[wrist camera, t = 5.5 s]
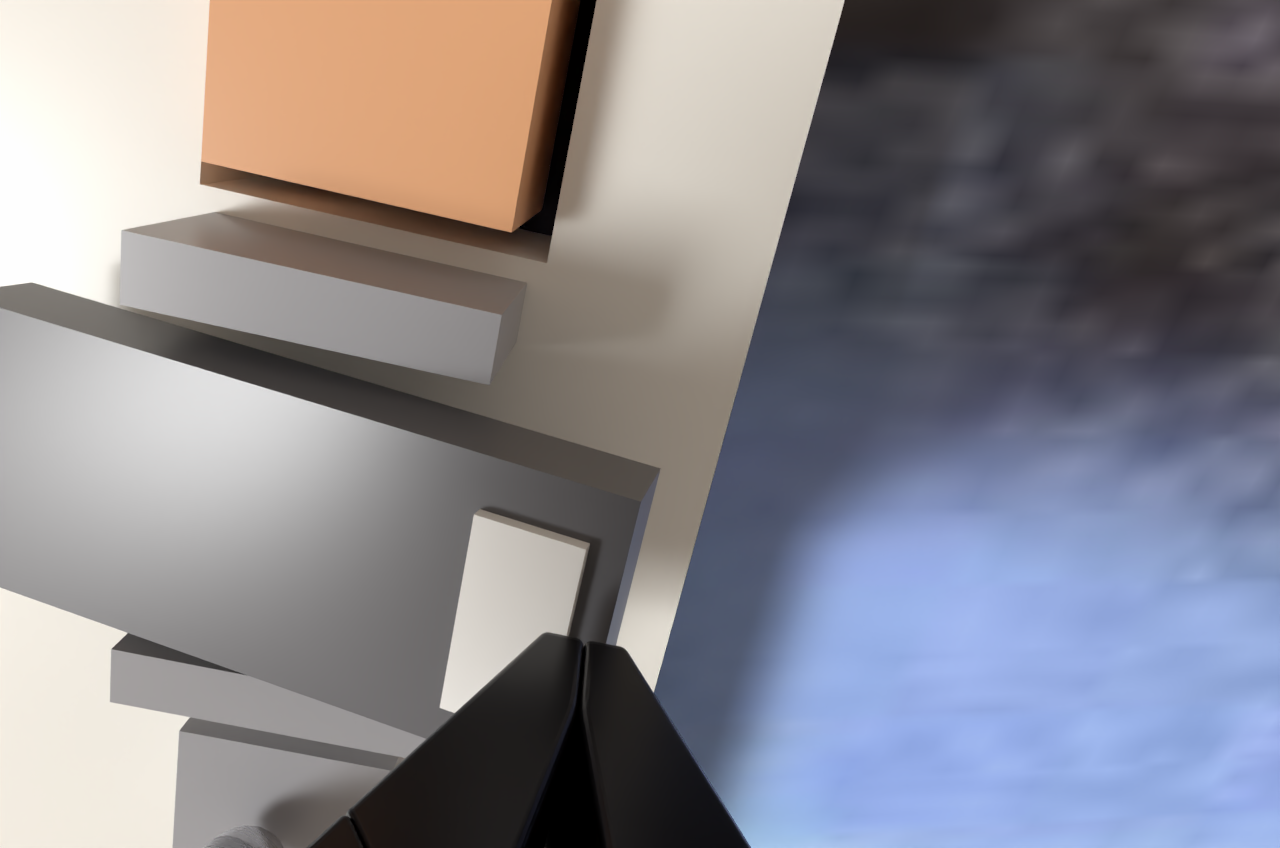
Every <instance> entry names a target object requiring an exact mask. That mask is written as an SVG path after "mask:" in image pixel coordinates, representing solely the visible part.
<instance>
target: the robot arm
mask: <svg viewBox="0 0 1280 848" xmlns="http://www.w3.org/2000/svg"><path fill="white" fill-rule="evenodd" d="M306 848H751V847H750V845H749V844H748V842H747V841H746V839H745V837H744V836H743V834H742V833H741V831H740V829H739V828H738V826H737V825H736V823H735V821H734V820H733V818H732V817H731V815H730V813H729V812H728V810H727V809H726V807H725V805H724V804H723V802H722V801H721V799H720V798H719V796H718V794H717V793H716V791H715V790H714V788H713V786H712V785H711V783H710V782H709V780H708V778H707V777H706V775H705V774H704V772H703V770H702V769H701V767H700V766H699V764H698V763H697V761H696V759H695V758H694V756H693V755H692V753H691V751H690V750H689V748H688V747H687V745H686V743H685V742H684V740H683V739H682V737H681V735H680V734H679V732H678V731H677V729H676V728H675V726H674V724H673V723H672V721H671V720H670V718H669V716H668V715H667V713H666V712H665V710H664V708H663V707H662V705H661V704H660V702H659V700H658V699H657V697H656V696H655V694H654V692H653V691H652V689H651V688H650V686H649V685H648V683H647V681H646V680H645V678H644V677H643V675H642V673H641V672H640V670H639V669H638V667H637V665H636V664H635V662H634V661H633V659H632V657H631V656H630V654H629V653H628V651H627V650H626V649H625V648H623V647H621V646H616V645H610V644H605V643H600V642H595V641H589V642H587V643H586V644H585V645H584V647H583V643H582V641H581V640H580V639H578V638H575V637H570V636H565V635H560V634H555V633H550V632H545V633H542V634H541V635H540V636H539V637H538V638H537V639H535V640H534V641H533V642H532V643H531V644H530V645H529V646H528V647H527V648H526V649H524V650H523V651H522V652H521V653H520V654H519V655H518V656H517V657H516V658H515V659H513V660H512V661H511V662H510V663H509V664H508V665H507V666H506V667H505V668H504V669H502V670H501V671H500V672H499V673H498V674H497V675H496V676H495V677H494V678H493V679H491V680H490V681H489V682H488V683H487V684H486V685H485V686H484V687H483V688H482V689H481V690H479V691H478V692H477V693H476V694H475V695H474V696H473V697H472V698H471V699H470V700H468V701H467V702H466V703H465V704H464V705H463V706H462V707H461V708H460V709H459V710H457V711H456V712H455V713H454V714H453V715H452V716H451V717H450V718H449V719H448V720H446V721H445V722H444V723H443V724H442V725H441V726H440V727H439V728H438V729H437V730H435V731H434V732H433V733H432V734H431V735H430V736H429V737H428V738H427V739H426V740H424V741H423V742H422V743H421V744H420V745H419V746H418V747H417V748H416V749H415V750H414V751H412V752H411V753H410V754H409V755H408V756H407V757H406V758H405V759H404V760H403V761H401V762H400V763H399V764H398V765H397V766H396V767H395V768H394V769H393V770H392V771H390V772H389V773H388V774H387V775H386V776H385V777H384V778H383V779H382V780H381V781H379V782H378V783H377V784H376V785H375V786H374V787H373V788H372V789H371V790H370V791H368V792H367V793H366V794H365V795H364V796H363V797H362V798H361V799H360V800H359V801H357V802H356V803H355V804H354V805H353V806H352V807H351V808H350V809H349V810H348V811H347V813H346V815H343V816H341V817H339V818H338V819H337V820H336V821H335V822H334V823H333V824H332V825H330V826H329V827H328V828H327V829H326V830H325V831H324V832H323V833H322V834H321V835H320V836H319V837H317V838H316V839H315V840H314V841H313V842H312V843H311V844H310V845H309V846H307V847H306Z"/></svg>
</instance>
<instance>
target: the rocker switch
mask: <svg viewBox="0 0 1280 848" xmlns="http://www.w3.org/2000/svg"><path fill="white" fill-rule="evenodd" d="M660 469H661V468H657V467H654V466H651V465H647V464H644V463H641V462H637V461H634V460H630V459H627V458H624V457H620V456H617V455H614V454H610V453H607V452H603V451H600V450H597V449H593V448H590V447H587V446H583V445H580V444H576V443H573V442H570V441H566V440H563V439H560V438H556V437H553V436H549V435H546V434H543V433H539V432H536V431H533V430H529V429H526V428H522V427H519V426H516V425H512V424H509V423H506V422H502V421H499V420H495V419H492V418H489V417H485V416H482V415H478V414H475V413H472V412H468V411H465V410H462V409H458V408H455V407H451V406H448V405H445V404H441V403H438V402H435V401H431V400H428V399H424V398H421V397H418V396H414V395H411V394H408V393H404V392H401V391H397V390H394V389H391V388H387V387H384V386H381V385H377V384H374V383H370V382H367V381H364V380H360V379H357V378H354V377H350V376H347V375H343V374H340V373H337V372H333V371H330V370H327V369H323V368H320V367H316V366H313V365H310V364H306V363H303V362H300V361H296V360H293V359H289V358H286V357H283V356H279V355H276V354H273V353H269V352H266V351H262V350H259V349H256V348H252V347H249V346H246V345H242V344H239V343H235V342H232V341H229V340H225V339H222V338H218V337H215V336H212V335H208V334H205V333H202V332H198V331H195V330H191V329H188V328H185V327H181V326H178V325H175V324H171V323H168V322H164V321H161V320H158V319H154V318H151V317H148V316H144V315H141V314H137V313H134V312H131V311H127V310H124V309H121V308H117V307H114V306H110V305H107V304H104V303H100V302H97V301H94V300H90V299H87V298H83V297H80V296H77V295H73V294H70V293H67V292H63V291H60V290H56V289H53V288H50V287H46V286H43V285H40V284H36V283H33V282H30V283H23V284H16V285H8V286H1V287H0V588H3V589H6V590H9V591H11V592H14V593H17V594H20V595H23V596H25V597H28V598H31V599H34V600H37V601H40V602H42V603H45V604H48V605H51V606H54V607H56V608H59V609H62V610H65V611H68V612H71V613H73V614H76V615H79V616H82V617H85V618H87V619H90V620H93V621H96V622H99V623H101V624H104V625H107V626H110V627H113V628H116V629H118V630H121V631H124V632H127V633H130V634H132V635H135V636H138V637H141V638H144V639H147V640H149V641H152V642H155V643H158V644H161V645H163V646H166V647H169V648H172V649H175V650H178V651H180V652H183V653H186V654H189V655H192V656H194V657H197V658H200V659H203V660H206V661H208V662H211V663H214V664H217V665H220V666H223V667H225V668H228V669H231V670H234V671H237V672H239V673H242V674H245V675H248V676H251V677H254V678H256V679H259V680H262V681H265V682H268V683H270V684H273V685H276V686H279V687H282V688H284V689H287V690H290V691H293V692H296V693H299V694H301V695H304V696H307V697H310V698H313V699H315V700H318V701H321V702H324V703H327V704H330V705H332V706H335V707H338V708H341V709H344V710H346V711H349V712H352V713H355V714H358V715H360V716H363V717H366V718H369V719H372V720H375V721H377V722H380V723H383V724H386V725H389V726H391V727H394V728H397V729H400V730H403V731H406V732H408V733H411V734H414V735H417V736H420V737H422V738H425V739H427V738H428V737H429V736H430V735H431V734H432V733H433V732H434V731H435V730H437V729H438V728H439V727H440V726H441V725H442V724H443V723H444V722H445V721H446V720H448V719H449V718H450V717H451V716H452V715H453V714H454V713H455V712H456V711H457V710H459V709H460V708H461V707H462V706H463V705H464V704H465V703H466V702H467V701H468V700H470V699H471V698H472V697H473V696H474V695H475V694H476V693H477V692H478V691H479V690H481V689H482V688H483V687H484V686H485V685H486V684H487V683H488V682H489V681H490V680H491V679H493V678H494V677H495V676H496V675H497V674H498V673H499V672H500V671H501V670H502V669H504V668H505V667H506V666H507V665H508V664H509V663H510V662H511V661H512V660H513V659H515V658H516V657H517V656H518V655H519V654H520V653H521V652H522V651H523V650H524V649H526V648H527V647H528V646H529V645H530V644H531V643H532V642H533V641H534V640H535V639H537V638H538V637H539V636H540V635H541V634H542V633H545V632H550V633H555V634H560V635H565V636H570V637H575V638H578V639H580V640H581V641H582V643H583V647H584V645H585V644H586V643H587V642H589V641H595V642H600V643H605V644H610V645H616V643H617V639H618V635H619V631H620V627H621V623H622V620H623V616H624V612H625V608H626V604H627V600H628V596H629V592H630V588H631V584H632V580H633V576H634V572H635V568H636V564H637V560H638V556H639V552H640V548H641V544H642V540H643V536H644V532H645V529H646V525H647V521H648V517H649V513H650V509H651V505H652V501H653V497H654V493H655V489H656V485H657V481H658V477H659V473H660Z"/></svg>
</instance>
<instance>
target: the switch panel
mask: <svg viewBox="0 0 1280 848" xmlns="http://www.w3.org/2000/svg"><path fill="white" fill-rule="evenodd" d="M844 1H845V0H597V1H596V6H595V11H594V17H593V22H592V27H591V33H590V38H589V43H588V48H587V54H586V59H585V64H584V70H583V75H582V80H581V86H580V91H579V96H578V101H577V107H576V112H575V117H574V123H573V128H572V133H571V138H570V144H569V149H568V154H567V160H566V165H565V170H564V176H563V181H562V186H561V191H560V197H559V202H558V207H557V213H556V218H555V223H554V228H553V234H552V236H549V235H545V234H541V233H536V232H532V231H528V230H523V229H519V228H517V229H516V230H514V231H513V232H512V233H511V232H507V231H502V230H498V229H494V228H489V227H485V226H481V225H476V224H472V223H467V222H463V221H459V220H454V219H450V218H446V217H441V216H437V215H433V214H428V213H424V212H419V211H415V210H411V209H406V208H402V207H398V206H393V205H389V204H385V203H380V202H376V201H372V200H367V199H363V198H358V197H354V196H350V195H345V194H341V193H337V192H332V191H328V190H324V189H319V188H315V187H311V186H306V185H302V184H297V183H293V182H289V181H284V180H280V179H276V178H271V177H267V176H263V175H258V174H254V173H250V172H245V171H241V170H236V169H232V168H228V167H223V166H219V165H215V164H210V163H206V162H202V161H201V155H202V136H203V118H204V99H205V80H206V62H207V43H208V24H209V5H210V0H0V287H1V286H8V285H16V284H23V283H30V282H33V283H36V284H40V285H43V286H46V287H50V288H53V289H56V290H60V291H63V292H67V293H70V294H73V295H77V296H80V297H83V298H87V299H90V300H94V301H97V302H100V303H104V304H107V305H110V306H114V307H117V308H121V309H124V310H127V311H131V312H134V313H137V314H141V315H144V316H148V317H151V318H154V319H158V320H161V321H164V322H168V323H171V324H175V325H178V326H181V327H185V328H188V329H191V330H195V331H198V332H202V333H205V334H208V335H212V336H215V337H218V338H222V339H225V340H229V341H232V342H235V343H239V344H242V345H246V346H249V347H252V348H256V349H259V350H262V351H266V352H269V353H273V354H276V355H279V356H283V357H286V358H289V359H293V360H296V361H300V362H303V363H306V364H310V365H313V366H316V367H320V368H323V369H327V370H330V371H333V372H337V373H340V374H343V375H347V376H350V377H354V378H357V379H360V380H364V381H367V382H370V383H374V384H377V385H381V386H384V387H387V388H391V389H394V390H397V391H401V392H404V393H408V394H411V395H414V396H418V397H421V398H424V399H428V400H431V401H435V402H438V403H441V404H445V405H448V406H451V407H455V408H458V409H462V410H465V411H468V412H472V413H475V414H478V415H482V416H485V417H489V418H492V419H495V420H499V421H502V422H506V423H509V424H512V425H516V426H519V427H522V428H526V429H529V430H533V431H536V432H539V433H543V434H546V435H549V436H553V437H556V438H560V439H563V440H566V441H570V442H573V443H576V444H580V445H583V446H587V447H590V448H593V449H597V450H600V451H603V452H607V453H610V454H614V455H617V456H620V457H624V458H627V459H630V460H634V461H637V462H641V463H644V464H647V465H651V466H654V467H657V468H661V469H660V473H659V477H658V481H657V485H656V489H655V493H654V497H653V501H652V505H651V509H650V513H649V517H648V521H647V525H646V529H645V532H644V536H643V540H642V544H641V548H640V552H639V556H638V560H637V564H636V568H635V572H634V576H633V580H632V584H631V588H630V592H629V596H628V600H627V604H626V608H625V612H624V616H623V620H622V623H621V627H620V631H619V635H618V639H617V643H616V646H621V647H623V648H625V649H626V650H627V651H628V653H629V654H630V656H631V657H632V659H633V661H634V662H635V664H636V665H637V667H638V669H639V670H640V672H641V673H642V675H643V677H644V678H645V680H646V681H647V683H648V685H649V686H650V688H651V689H652V691H653V692H654V690H655V686H656V683H657V679H658V676H659V672H660V668H661V665H662V661H663V657H664V654H665V650H666V646H667V643H668V639H669V636H670V632H671V628H672V625H673V621H674V617H675V614H676V610H677V607H678V603H679V599H680V596H681V592H682V588H683V585H684V581H685V578H686V574H687V570H688V567H689V563H690V559H691V556H692V552H693V549H694V545H695V541H696V538H697V534H698V530H699V527H700V523H701V520H702V516H703V512H704V509H705V505H706V501H707V498H708V494H709V491H710V487H711V483H712V480H713V476H714V472H715V469H716V465H717V462H718V458H719V454H720V451H721V447H722V443H723V440H724V436H725V433H726V429H727V425H728V422H729V418H730V414H731V411H732V407H733V404H734V400H735V396H736V393H737V389H738V385H739V382H740V378H741V375H742V371H743V367H744V364H745V360H746V356H747V353H748V349H749V346H750V342H751V338H752V335H753V331H754V327H755V324H756V320H757V317H758V313H759V309H760V306H761V302H762V298H763V295H764V291H765V288H766V284H767V280H768V277H769V273H770V269H771V266H772V262H773V259H774V255H775V251H776V248H777V244H778V240H779V237H780V233H781V230H782V226H783V222H784V219H785V215H786V211H787V208H788V204H789V201H790V197H791V193H792V190H793V186H794V182H795V179H796V175H797V172H798V168H799V164H800V161H801V157H802V153H803V150H804V146H805V143H806V139H807V135H808V132H809V128H810V124H811V121H812V117H813V114H814V110H815V106H816V103H817V99H818V95H819V92H820V88H821V85H822V81H823V77H824V74H825V70H826V66H827V63H828V59H829V56H830V52H831V48H832V45H833V41H834V37H835V34H836V30H837V27H838V23H839V19H840V16H841V12H842V8H843V5H844ZM424 740H426V739H425V738H422V737H420V736H417V735H414V734H411V733H408V732H406V731H403V730H400V729H397V728H394V727H391V726H389V725H386V724H383V723H380V722H377V721H375V720H372V719H369V718H366V717H363V716H360V715H358V714H355V713H352V712H349V711H346V710H344V709H341V708H338V707H335V706H332V705H330V704H327V703H324V702H321V701H318V700H315V699H313V698H310V697H307V696H304V695H301V694H299V693H296V692H293V691H290V690H287V689H284V688H282V687H279V686H276V685H273V684H270V683H268V682H265V681H262V680H259V679H256V678H254V677H251V676H248V675H245V674H242V673H239V672H237V671H234V670H231V669H228V668H225V667H223V666H220V665H217V664H214V663H211V662H208V661H206V660H203V659H200V658H197V657H194V656H192V655H189V654H186V653H183V652H180V651H178V650H175V649H172V648H169V647H166V646H163V645H161V644H158V643H155V642H152V641H149V640H147V639H144V638H141V637H138V636H135V635H132V634H130V633H127V632H124V631H121V630H118V629H116V628H113V627H110V626H107V625H104V624H101V623H99V622H96V621H93V620H90V619H87V618H85V617H82V616H79V615H76V614H73V613H71V612H68V611H65V610H62V609H59V608H56V607H54V606H51V605H48V604H45V603H42V602H40V601H37V600H34V599H31V598H28V597H25V596H23V595H20V594H17V593H14V592H11V591H9V590H6V589H3V588H0V848H204V847H205V846H206V845H207V844H208V843H209V842H211V841H212V840H213V839H214V838H216V837H217V836H219V835H220V834H222V833H223V832H225V831H227V830H230V829H232V828H236V827H240V826H258V827H261V828H264V829H266V830H268V831H270V832H272V833H273V834H274V835H275V836H276V837H277V838H278V839H279V840H280V842H281V843H282V845H283V847H284V848H306V847H307V846H309V845H310V844H311V843H312V842H313V841H314V840H315V839H316V838H317V837H319V836H320V835H321V834H322V833H323V832H324V831H325V830H326V829H327V828H328V827H329V826H330V825H332V824H333V823H334V822H335V821H336V820H337V819H338V818H339V817H341V816H343V815H346V813H347V811H348V810H349V809H350V808H351V807H352V806H353V805H354V804H355V803H356V802H357V801H359V800H360V799H361V798H362V797H363V796H364V795H365V794H366V793H367V792H368V791H370V790H371V789H372V788H373V787H374V786H375V785H376V784H377V783H378V782H379V781H381V780H382V779H383V778H384V777H385V776H386V775H387V774H388V773H389V772H390V771H392V770H393V769H394V768H395V767H396V766H397V765H398V764H399V763H400V762H401V761H403V760H404V759H405V758H406V757H407V756H408V755H409V754H410V753H411V752H412V751H414V750H415V749H416V748H417V747H418V746H419V745H420V744H421V743H422V742H423V741H424Z"/></svg>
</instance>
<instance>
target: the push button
mask: <svg viewBox="0 0 1280 848" xmlns="http://www.w3.org/2000/svg"><path fill="white" fill-rule="evenodd" d="M580 1H581V0H210V5H209V24H208V43H207V62H206V80H205V99H204V118H203V136H202V155H201V161H202V162H206V163H210V164H215V165H219V166H223V167H228V168H232V169H236V170H241V171H245V172H250V173H254V174H258V175H263V176H267V177H271V178H276V179H280V180H284V181H289V182H293V183H297V184H302V185H306V186H311V187H315V188H319V189H324V190H328V191H332V192H337V193H341V194H345V195H350V196H354V197H358V198H363V199H367V200H372V201H376V202H380V203H385V204H389V205H393V206H398V207H402V208H406V209H411V210H415V211H419V212H424V213H428V214H433V215H437V216H441V217H446V218H450V219H454V220H459V221H463V222H467V223H472V224H476V225H481V226H485V227H489V228H494V229H498V230H502V231H507V232H511V233H512V232H513V231H514V230H516V229H517V228H518V227H520V226H521V225H522V224H524V223H525V222H526V221H528V220H529V219H530V218H532V217H533V216H534V215H536V214H537V213H538V212H540V211H541V210H542V208H543V203H544V198H545V192H546V187H547V181H548V176H549V170H550V165H551V159H552V154H553V148H554V143H555V138H556V132H557V127H558V121H559V116H560V110H561V105H562V99H563V94H564V88H565V83H566V78H567V72H568V67H569V61H570V56H571V50H572V45H573V39H574V34H575V28H576V23H577V18H578V12H579V7H580Z"/></svg>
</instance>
